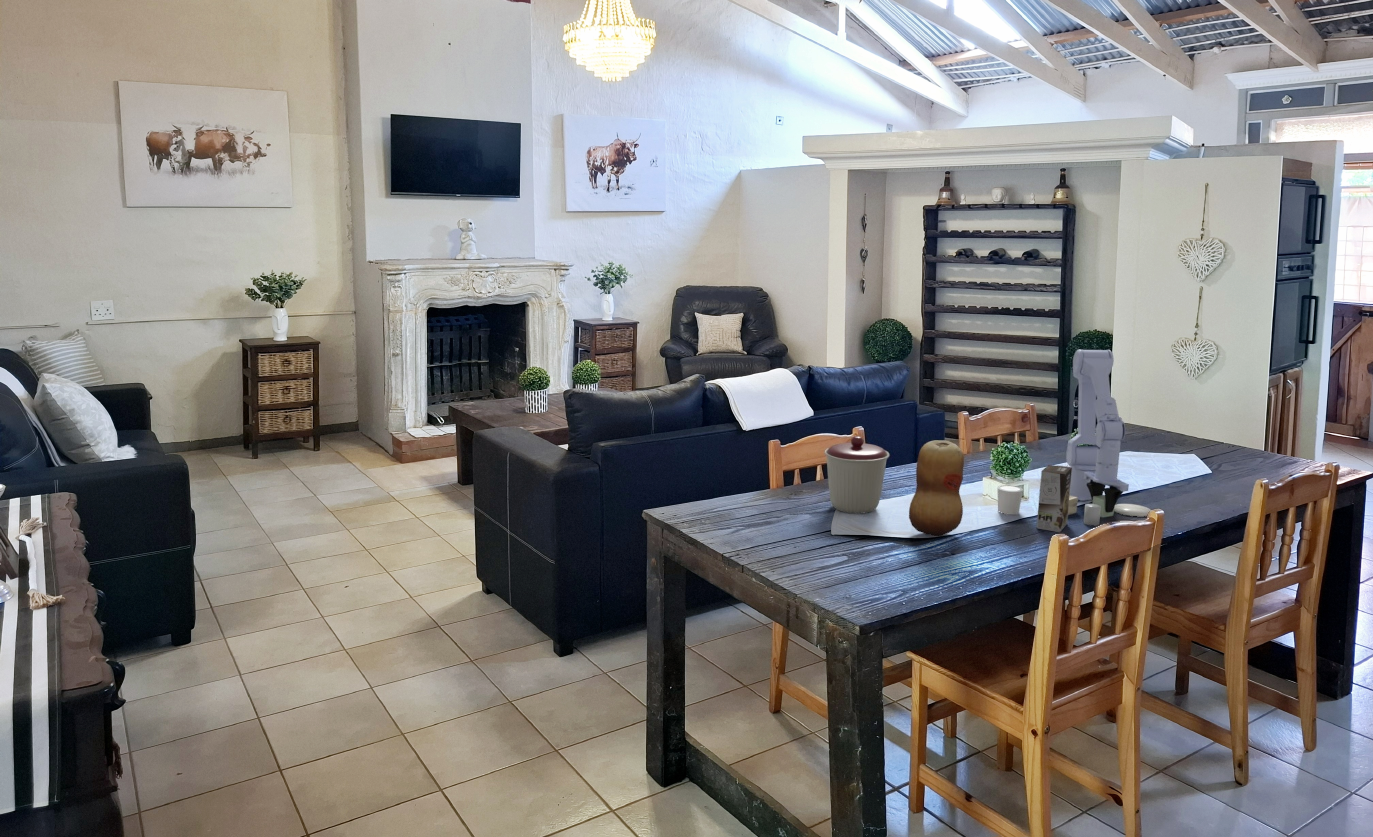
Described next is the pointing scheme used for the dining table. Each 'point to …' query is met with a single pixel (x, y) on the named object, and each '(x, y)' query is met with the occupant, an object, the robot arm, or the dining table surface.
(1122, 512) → the saucer
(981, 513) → the dining table surface
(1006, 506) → the white cup
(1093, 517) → the grey cylinder
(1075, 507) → the birch cube
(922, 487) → the butternut squash
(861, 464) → the canister
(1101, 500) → the sage block
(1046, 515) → the coffee box
